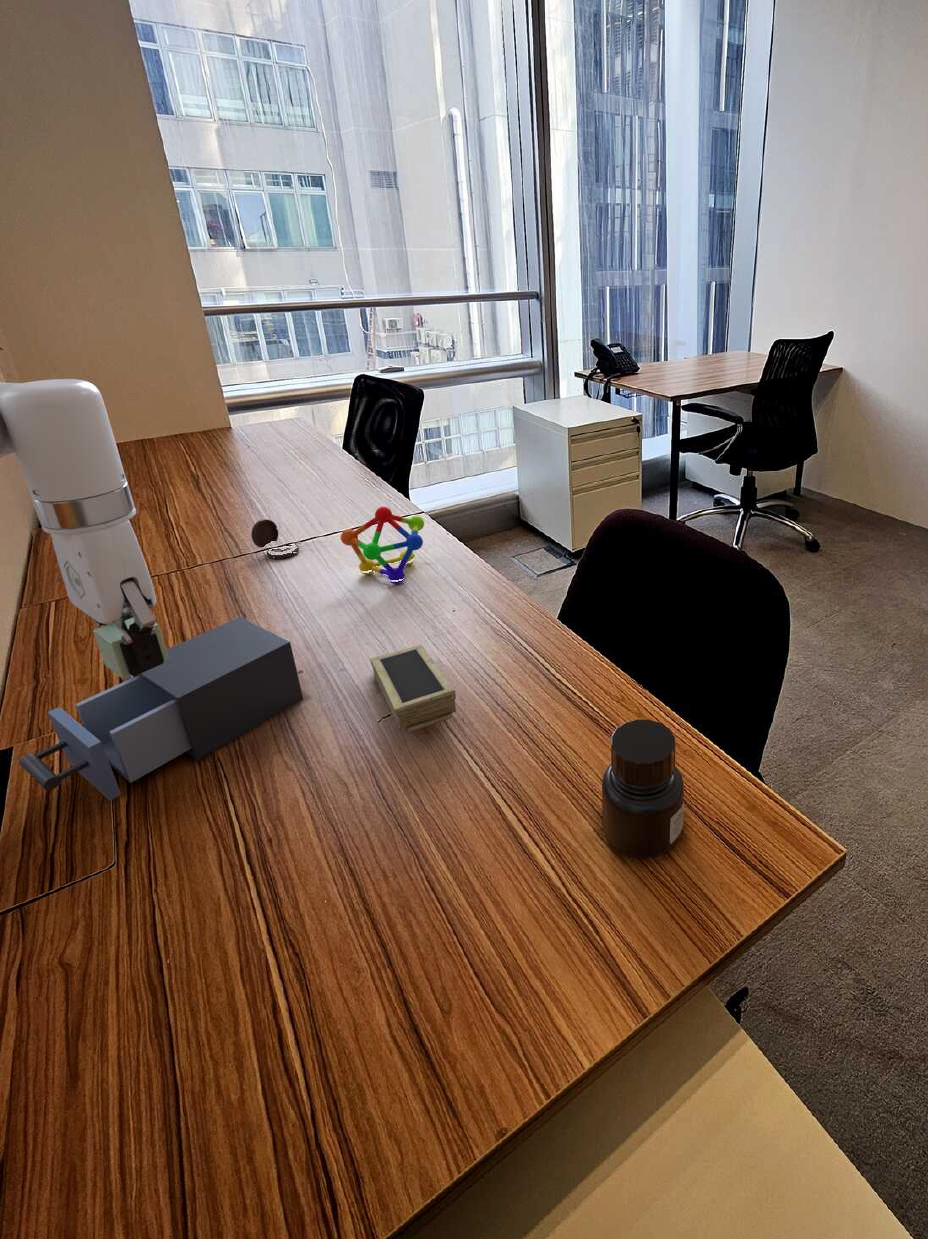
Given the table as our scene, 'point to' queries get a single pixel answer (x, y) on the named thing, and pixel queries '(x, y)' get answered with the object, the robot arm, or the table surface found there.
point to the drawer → (114, 737)
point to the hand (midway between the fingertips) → (136, 659)
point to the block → (111, 649)
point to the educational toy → (374, 551)
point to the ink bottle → (642, 790)
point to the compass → (269, 537)
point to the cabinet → (227, 682)
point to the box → (414, 688)
